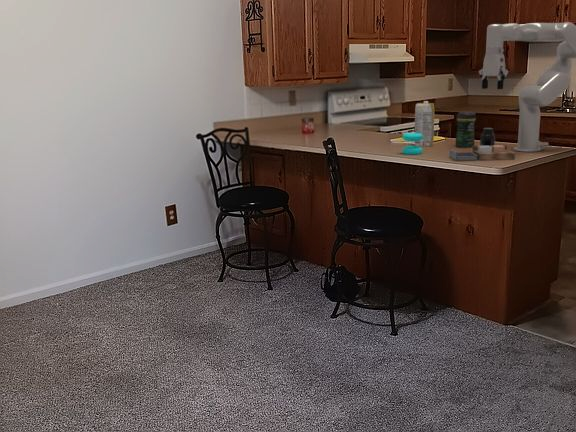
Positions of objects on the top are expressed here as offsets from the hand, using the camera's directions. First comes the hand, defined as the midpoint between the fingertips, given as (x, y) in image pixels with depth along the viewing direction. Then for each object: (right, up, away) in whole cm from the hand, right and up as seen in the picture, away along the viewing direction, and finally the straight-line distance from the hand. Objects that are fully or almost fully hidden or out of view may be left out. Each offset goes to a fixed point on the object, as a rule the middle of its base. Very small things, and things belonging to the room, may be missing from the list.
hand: (492, 88), depth 280 cm
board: (-1, -33, -4) cm, 34 cm away
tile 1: (-5, -31, -5) cm, 31 cm away
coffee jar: (-3, -24, +33) cm, 41 cm away
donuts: (-35, -29, +17) cm, 48 cm away
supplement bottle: (+1, -29, +11) cm, 32 cm away
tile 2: (+1, -30, -5) cm, 31 cm away
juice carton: (-23, -22, +42) cm, 53 cm away
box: (-15, -34, -4) cm, 37 cm away
